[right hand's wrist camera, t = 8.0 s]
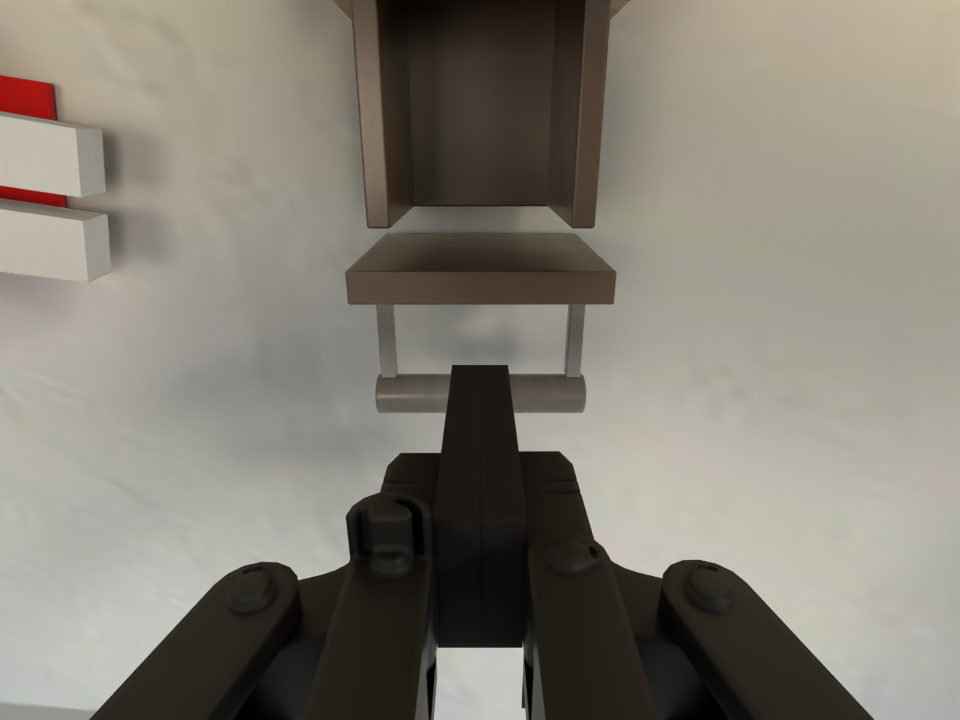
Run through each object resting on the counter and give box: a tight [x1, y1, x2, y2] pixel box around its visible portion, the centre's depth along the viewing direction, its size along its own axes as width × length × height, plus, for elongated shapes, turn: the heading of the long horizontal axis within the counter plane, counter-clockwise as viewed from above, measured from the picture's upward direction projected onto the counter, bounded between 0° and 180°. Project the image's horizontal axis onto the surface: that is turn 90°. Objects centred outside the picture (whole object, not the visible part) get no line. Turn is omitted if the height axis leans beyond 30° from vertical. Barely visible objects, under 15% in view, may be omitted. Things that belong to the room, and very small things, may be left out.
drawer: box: [345, 0, 616, 413], centre depth 22 cm, size 21×9×9 cm, turn 0°
